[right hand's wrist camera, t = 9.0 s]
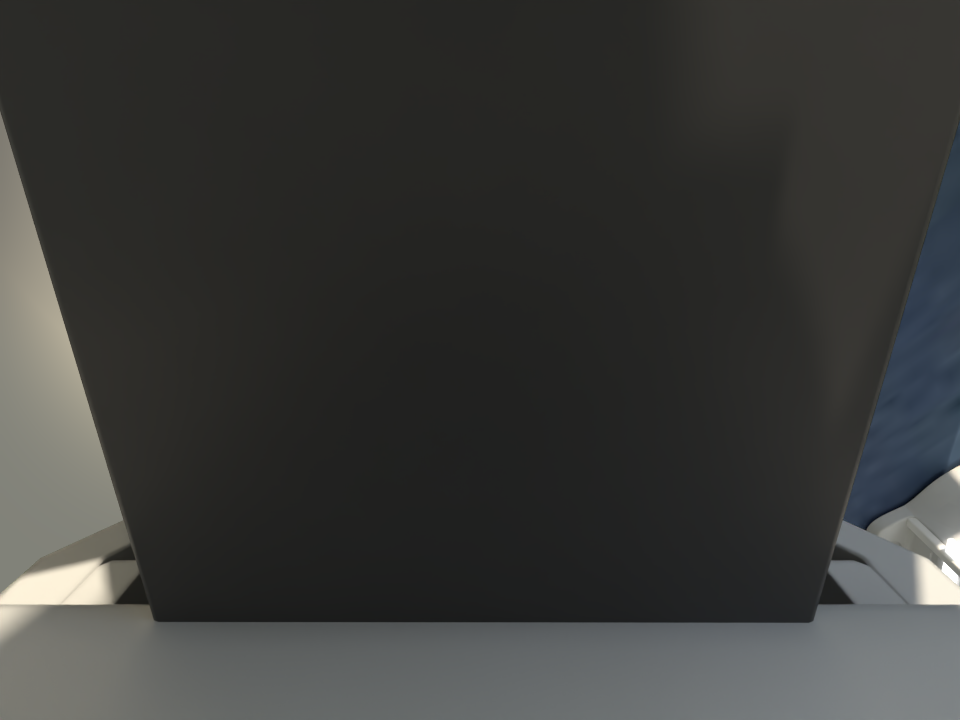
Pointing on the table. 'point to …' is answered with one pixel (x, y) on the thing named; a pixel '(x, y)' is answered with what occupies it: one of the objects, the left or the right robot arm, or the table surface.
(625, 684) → the right robot arm
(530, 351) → the box
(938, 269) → the table surface
